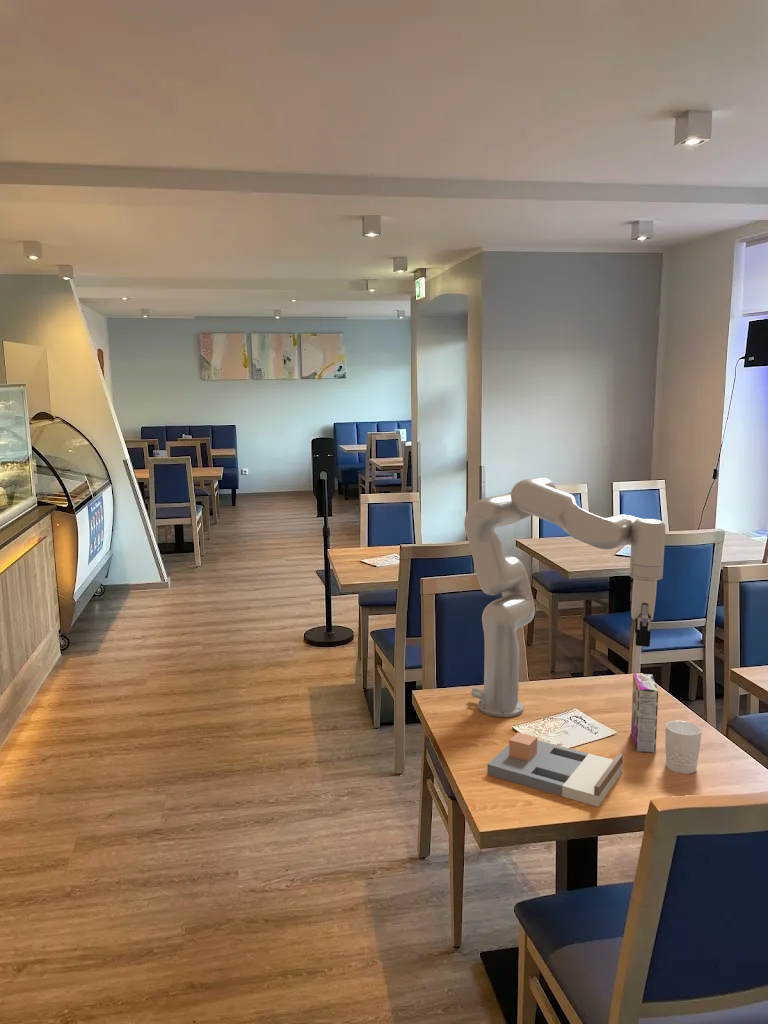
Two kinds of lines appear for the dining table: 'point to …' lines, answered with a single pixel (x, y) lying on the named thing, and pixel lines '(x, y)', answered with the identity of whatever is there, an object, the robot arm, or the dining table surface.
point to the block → (523, 746)
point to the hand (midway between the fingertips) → (642, 639)
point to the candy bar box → (644, 713)
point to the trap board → (560, 772)
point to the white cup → (682, 746)
